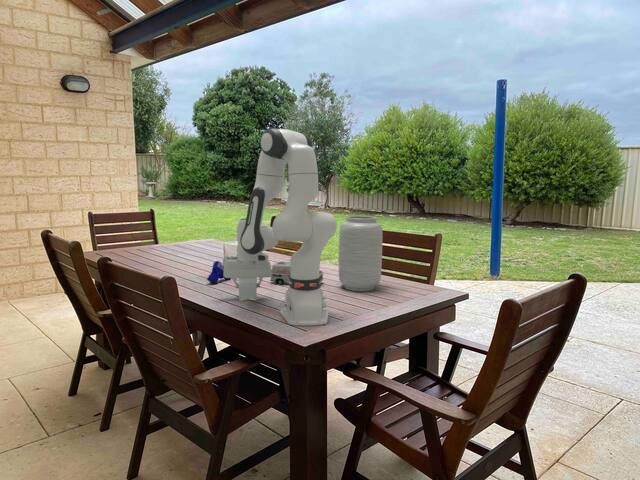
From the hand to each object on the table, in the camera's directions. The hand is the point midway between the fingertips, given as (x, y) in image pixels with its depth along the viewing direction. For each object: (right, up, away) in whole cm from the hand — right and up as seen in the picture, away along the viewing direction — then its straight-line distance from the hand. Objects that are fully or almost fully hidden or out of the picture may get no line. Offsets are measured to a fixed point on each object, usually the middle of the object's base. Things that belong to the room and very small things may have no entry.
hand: (247, 287), depth 198 cm
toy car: (+20, -1, +29) cm, 35 cm away
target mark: (0, -5, 0) cm, 5 cm away
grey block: (0, -3, +3) cm, 4 cm away
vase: (+50, -3, +22) cm, 54 cm away
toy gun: (-18, -1, +30) cm, 35 cm away
